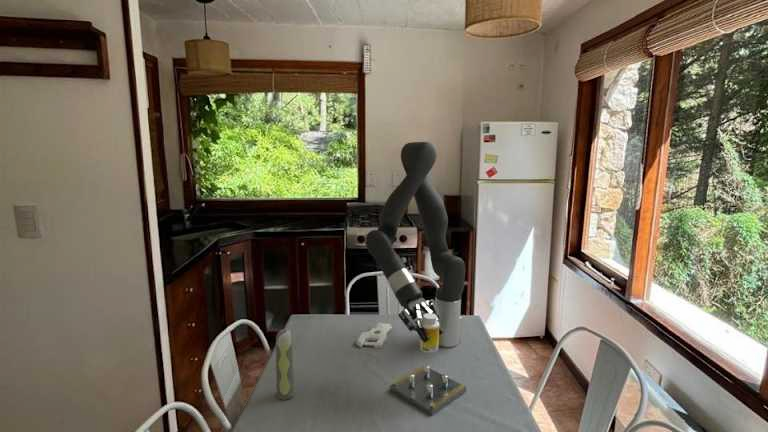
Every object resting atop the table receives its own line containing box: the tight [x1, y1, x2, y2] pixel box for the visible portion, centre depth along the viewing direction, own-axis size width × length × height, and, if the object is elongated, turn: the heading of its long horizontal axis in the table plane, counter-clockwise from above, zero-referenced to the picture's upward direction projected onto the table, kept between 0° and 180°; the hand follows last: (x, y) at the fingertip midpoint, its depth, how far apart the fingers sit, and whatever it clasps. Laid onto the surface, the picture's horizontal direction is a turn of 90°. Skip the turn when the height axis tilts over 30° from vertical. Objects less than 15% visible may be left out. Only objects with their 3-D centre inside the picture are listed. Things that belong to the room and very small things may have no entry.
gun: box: [355, 321, 393, 349], centre depth 155 cm, size 18×3×10 cm
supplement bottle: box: [419, 312, 440, 354], centre depth 119 cm, size 6×6×10 cm
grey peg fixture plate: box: [389, 364, 467, 416], centre depth 121 cm, size 16×16×5 cm
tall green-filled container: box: [275, 328, 295, 401], centre depth 117 cm, size 5×5×20 cm
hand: (434, 337), depth 118 cm, fingers closed on supplement bottle, 5 cm apart
